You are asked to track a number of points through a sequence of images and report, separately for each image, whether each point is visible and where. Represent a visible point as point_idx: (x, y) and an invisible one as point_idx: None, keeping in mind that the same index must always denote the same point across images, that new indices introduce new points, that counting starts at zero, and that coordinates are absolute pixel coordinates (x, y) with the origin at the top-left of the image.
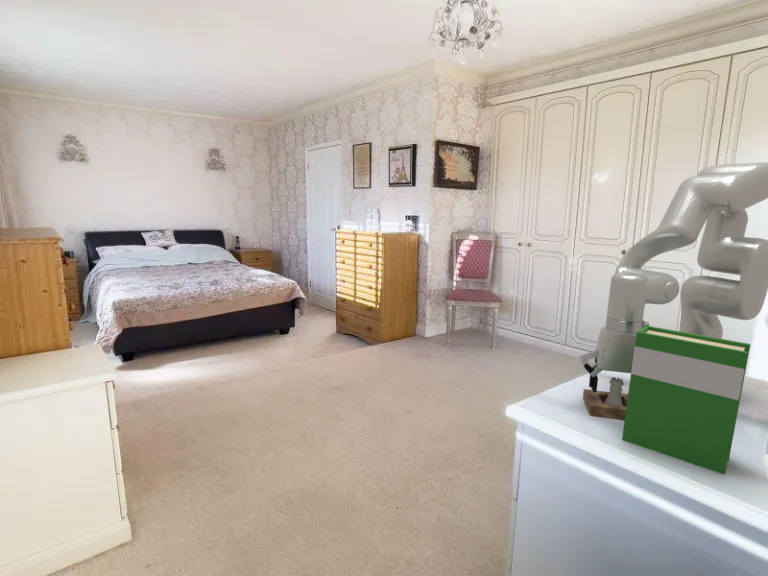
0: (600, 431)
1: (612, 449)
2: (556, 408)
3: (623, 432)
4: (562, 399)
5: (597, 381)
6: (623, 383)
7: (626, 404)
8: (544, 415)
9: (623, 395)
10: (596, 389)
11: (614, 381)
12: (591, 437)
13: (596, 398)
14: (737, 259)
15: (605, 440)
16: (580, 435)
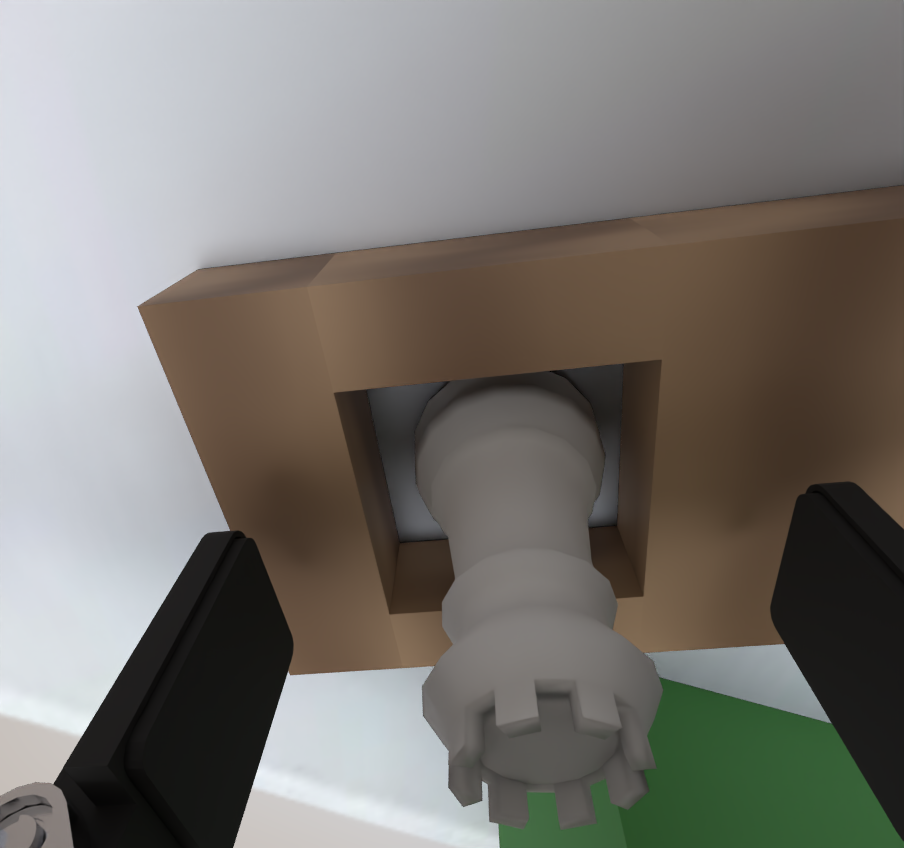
0: (388, 740)
1: (438, 837)
2: (63, 581)
3: (500, 827)
4: (27, 396)
5: (243, 804)
6: (647, 733)
7: (641, 458)
8: (42, 688)
9: (669, 312)
10: (281, 680)
11: (495, 794)
12: (344, 793)
13: (326, 529)
14: None
15: (411, 795)
16: (290, 793)
